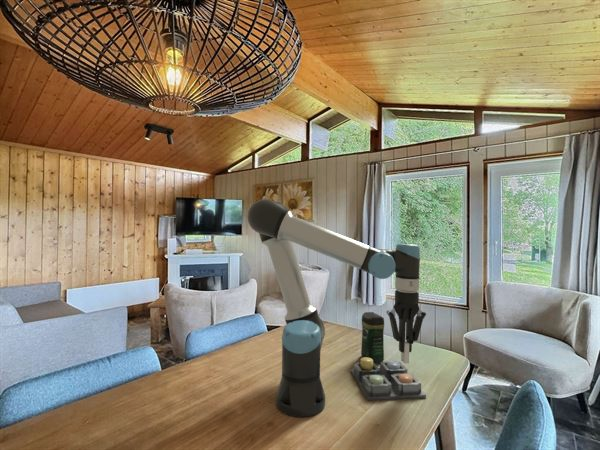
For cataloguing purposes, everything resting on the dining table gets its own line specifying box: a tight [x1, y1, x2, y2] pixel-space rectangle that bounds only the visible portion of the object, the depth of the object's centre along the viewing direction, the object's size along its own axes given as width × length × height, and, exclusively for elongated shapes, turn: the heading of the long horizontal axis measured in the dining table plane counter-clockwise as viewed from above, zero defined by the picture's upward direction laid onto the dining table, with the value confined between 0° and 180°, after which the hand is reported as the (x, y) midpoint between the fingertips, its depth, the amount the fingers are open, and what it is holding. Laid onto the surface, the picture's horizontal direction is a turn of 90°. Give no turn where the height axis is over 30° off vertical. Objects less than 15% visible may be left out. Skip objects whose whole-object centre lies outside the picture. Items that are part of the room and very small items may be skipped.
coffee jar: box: [360, 311, 385, 364], centre depth 131 cm, size 10×8×19 cm
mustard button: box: [360, 357, 373, 370], centre depth 114 cm, size 4×4×3 cm
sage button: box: [370, 375, 383, 384], centre depth 104 cm, size 4×4×3 cm
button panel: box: [350, 360, 427, 401], centre depth 110 cm, size 19×20×4 cm
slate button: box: [387, 360, 400, 369], centre depth 116 cm, size 4×4×3 cm
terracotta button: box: [399, 373, 413, 383], centre depth 106 cm, size 4×4×3 cm
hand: (404, 361), depth 106 cm, fingers closed
